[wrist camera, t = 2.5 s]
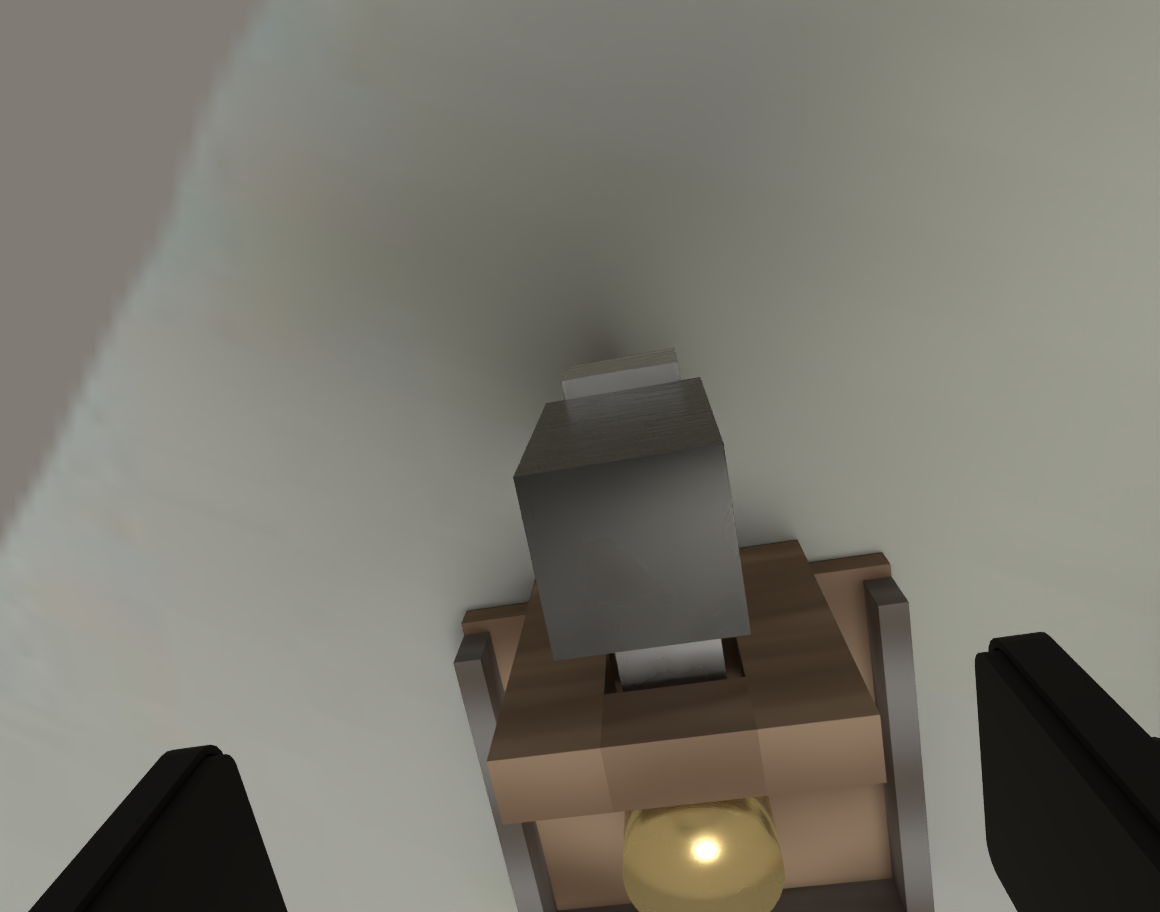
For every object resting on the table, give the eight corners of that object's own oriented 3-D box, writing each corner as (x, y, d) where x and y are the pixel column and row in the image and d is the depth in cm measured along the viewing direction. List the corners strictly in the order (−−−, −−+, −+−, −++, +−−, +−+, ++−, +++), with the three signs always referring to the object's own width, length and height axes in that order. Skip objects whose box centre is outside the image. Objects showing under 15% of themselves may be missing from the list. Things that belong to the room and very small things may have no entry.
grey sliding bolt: (550, 369, 23) (507, 452, 16) (692, 344, 23) (719, 417, 15) (671, 972, 29) (683, 1243, 22) (784, 962, 29) (837, 1235, 21)
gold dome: (612, 760, 25) (610, 817, 22) (761, 743, 24) (774, 800, 22) (636, 879, 26) (636, 944, 24) (779, 865, 25) (793, 931, 23)
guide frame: (460, 588, 32) (376, 774, 22) (880, 528, 31) (1006, 699, 20) (541, 911, 37) (504, 1195, 26) (912, 876, 35) (1029, 1165, 25)
